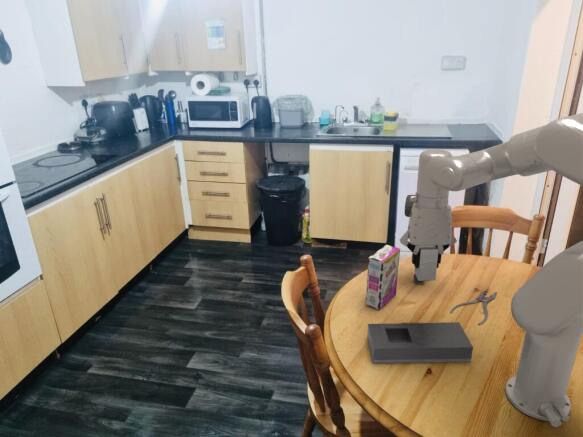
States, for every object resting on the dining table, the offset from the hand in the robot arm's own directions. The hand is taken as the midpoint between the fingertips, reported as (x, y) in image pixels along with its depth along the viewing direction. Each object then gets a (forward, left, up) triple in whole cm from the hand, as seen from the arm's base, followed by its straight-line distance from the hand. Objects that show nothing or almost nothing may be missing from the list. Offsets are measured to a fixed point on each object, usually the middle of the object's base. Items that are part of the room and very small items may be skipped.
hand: (425, 265), depth 114 cm
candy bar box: (+13, +8, -19) cm, 25 cm away
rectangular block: (-10, +3, -19) cm, 22 cm away
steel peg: (0, 0, -3) cm, 3 cm away
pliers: (+10, -19, -20) cm, 29 cm away
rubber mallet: (+23, -6, -19) cm, 31 cm away
